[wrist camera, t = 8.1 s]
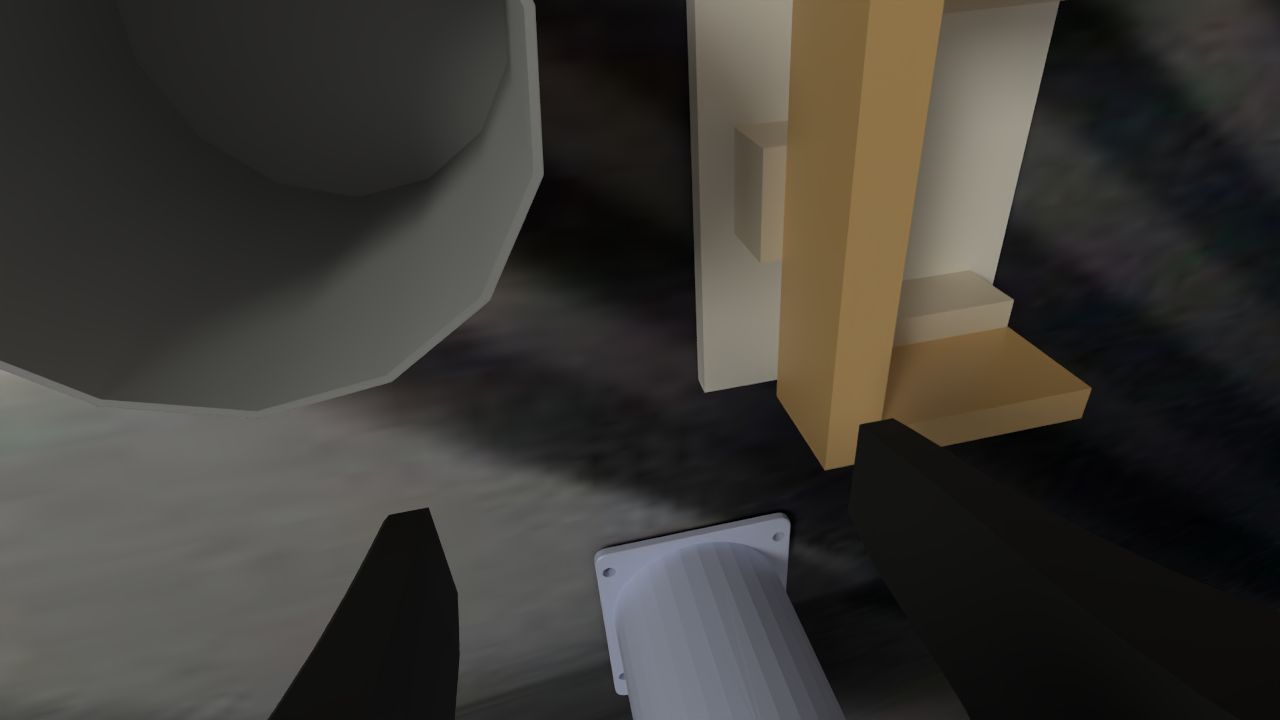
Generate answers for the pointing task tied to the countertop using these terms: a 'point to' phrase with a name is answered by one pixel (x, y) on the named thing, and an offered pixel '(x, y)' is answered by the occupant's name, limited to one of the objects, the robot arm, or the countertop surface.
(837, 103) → the tan u-shaped clamp
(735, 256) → the display stand
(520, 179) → the cup
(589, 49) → the countertop surface
